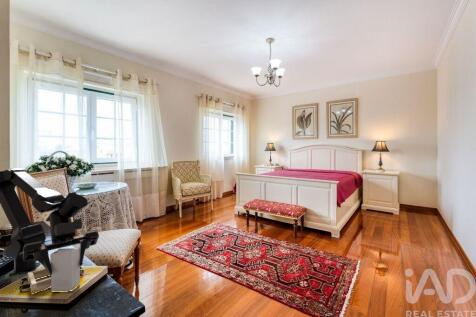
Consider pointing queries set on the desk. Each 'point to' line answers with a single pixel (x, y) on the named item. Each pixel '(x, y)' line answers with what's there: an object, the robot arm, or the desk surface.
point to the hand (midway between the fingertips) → (66, 269)
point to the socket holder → (40, 284)
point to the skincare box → (65, 269)
